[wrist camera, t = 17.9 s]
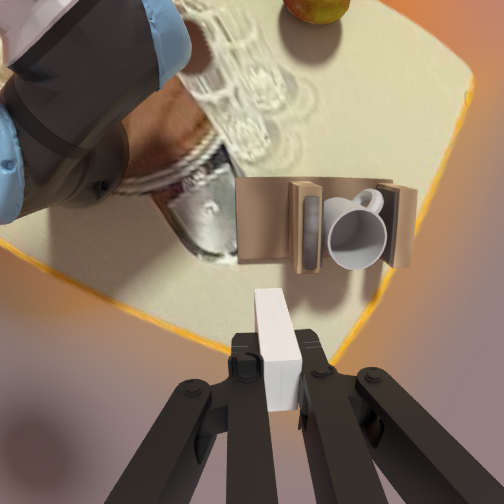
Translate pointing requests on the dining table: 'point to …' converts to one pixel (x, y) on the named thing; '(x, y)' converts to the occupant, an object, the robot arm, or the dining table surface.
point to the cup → (354, 230)
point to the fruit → (317, 10)
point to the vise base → (277, 200)
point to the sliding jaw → (306, 226)
